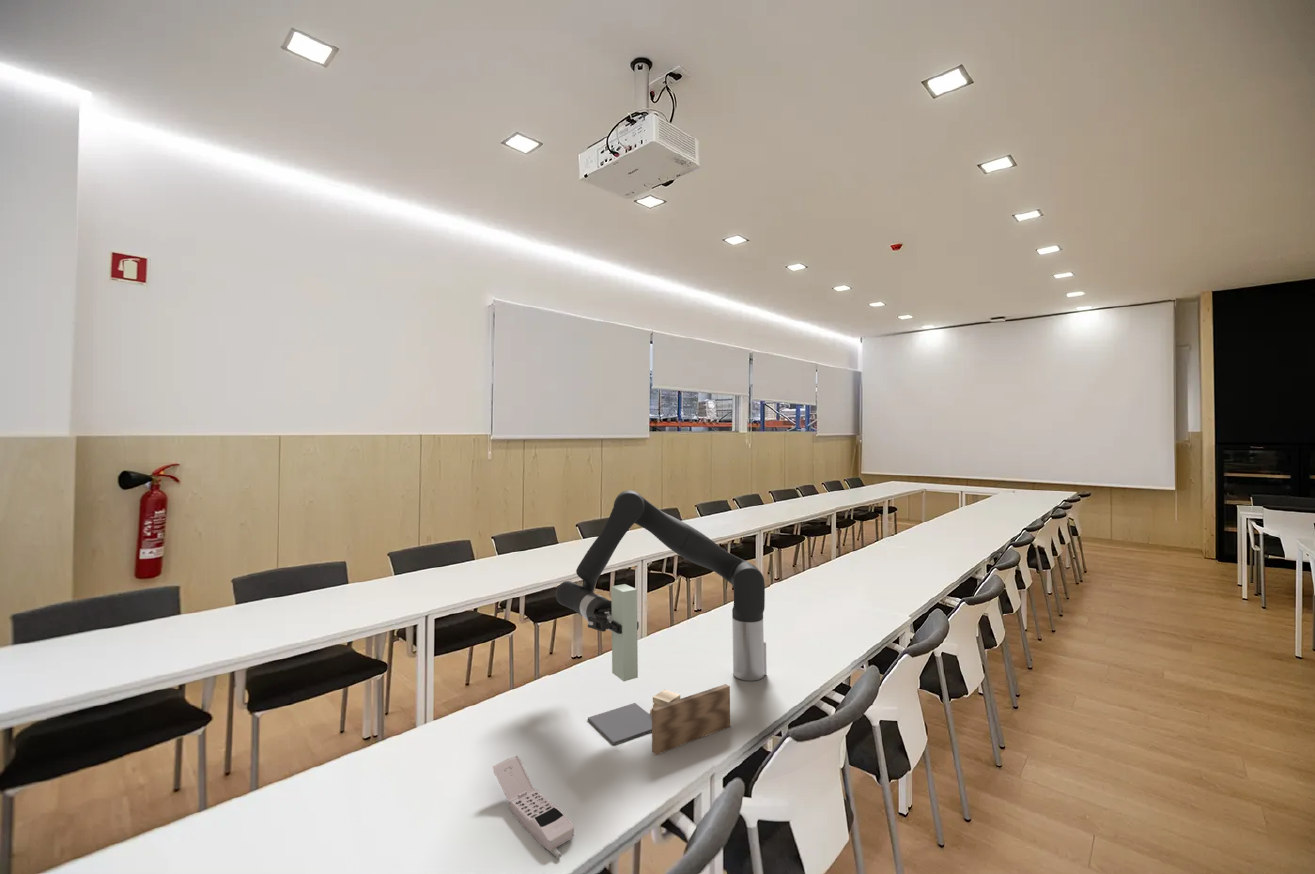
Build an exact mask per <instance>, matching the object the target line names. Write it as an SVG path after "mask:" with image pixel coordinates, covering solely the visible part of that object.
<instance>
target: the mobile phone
mask: <svg viewBox="0 0 1315 874" xmlns="http://www.w3.org/2000/svg"><path fill="white" fill-rule="evenodd" d="M523 764H524V763H523V762H522V760H521V758H520V757H519V756H518V755H515V756H512V757H510V758H507V759H505V760H503V761H500V762H498V763H496V764H495V765H493V766H492V770H493V774H494V775H495V776H496V779H497V781H498V783H499V784H500V787H501V789H502V791H503V794H504V795H505V798H506V799H507V801H508V804H509V805H508V806H509V810H510V812H511V814H513V816H514V817H515V818H516V820H518V821H519V822H520V824H521V825H522V826H523V827H524V828H525V830H527V831H528V833H530V835H531V836H532V837H534V839H535V840H536V841H537V842H538V843H539V844H540V845H541V846H542V847H544V848H545V849H546V850H547V851H549V852H550V853H551V854H552V855H553V856H554V857H555V858H556V859H560V858H561V857H562V853H561V852H560V850H559V849H558V847H560V846H561V845H563V844H565V843H567V842H568V841H570V840H572V839H573V838H574V836H575V826H574V824H573V823H572V822H571V820H570V819H569V817H567V815H565V814H564V813H563V811H562V810H561V809H560V808H558V806H555V804H554V803H553V802H551V801H550V800H549V799H548V798H546V797H545V796H544V795H543V794H541V793H540V792H539V791H538V790H537V789H536V787H533V784H532V783H531V781H530V778H529V776H528V774H527V772H526V770H525V767H524V766H523Z"/></svg>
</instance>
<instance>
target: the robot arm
mask: <svg viewBox="0 0 1315 874" xmlns="http://www.w3.org/2000/svg"><path fill="white" fill-rule="evenodd" d="M635 524H636V525H637V526H639V527H641V528H643V529H644V530H646V531H648V532H649V533H651V534H652V535H653V536H654V537H656V539H658V540H659V541H660V542H661V543H662V544H664V545H665V546H666V547H667V548H668V549H670V550H671V551H672V552H673V553H674V554H675V553H676V554H677V555H678V556H680V557H682V558H684V559H685V560H687V561H689V562H690V563H693V564H695V565H698V566H700V567H703V568H706V569H709V570H711V571H713V572H715V573H716V574H717V575H719V576H720V577H721V578H723V579H724V580H726V581H727V582H728V583H729V584H730V585H732V587H733V607H732V610H731V612H732V613H731V614H732V615H731V616H732V619H731V620H732V669H733V670H732V672H733V673H732V674H733V676H734V677H735V678H737V679H738V680H743V681H746V682H747V681H749V682H750V681H751V682H752V681H753V682H754V681H758V680H759V681H760V680H762V679H763V678H764V677H765V675H767V642H766V641H764V639H765V638H764V612H765V606H766V605H765V603H766V602H765V600H766V599H765V598H766V594H765V593H766V586H765V585H766V584H765V577H764V575H763V573H762V572H761V571H760V570H759V568H758V567H757V566H756V565H755V564H753V563H751V562H749V561H747V560H745V559H743V558H740V557H738V556H736V555H735V554H732V553H730V552H729V551H727V550H726V549H724V548H723V547H721V546H720V545H718V543H716V542H715V541H713V540H712V539H711V538H709V536H707V535H705V534H704V533H702V532H701V531H699V530H698V529H696V528H694V527H693V526H691V525H689V524H688V523H686V522H684V521H682V520H680V519H679V518H676V517H674V516H672V515H670V514H668V513H666V512H664V511H662V510H661V509H660V508H658V507H656V505H653V504H652V503H651V502H650V501H649V500H647V499H646V497H645V498H644V497H643V496H642V494H640V493H638V492H637V491H634V490H631V489H627V490H624V491H621V492H620V493H619V494H618V495H617V496H616V498H615V499H614V503H613V507H612V510H611V512H610V514H609V517H608V519H607V521H606V523H605V525H604V527H603V528H602V530H601V532H600V533H599V535H598V537H597V538H596V539H595V540H594V542H593V543H592V544H591V546H590V547H589V548H588V550H587V551H586V553H585V554H584V556H583V558H582V560H581V561H580V563H579V564H578V566H577V568H576V571H575V573H576V575H577V576H578V577H579V578H580V579H581V580H582V581H583V584H582V585H580V584H577V583H576V582H573V581H570V580H566V581H563V582H561V583H559V585H558V587H557V588H556V590H555V599H556V601H557V602H558V604H559V605H561V606H564V607H565V608H567V609H570V610H572V611H574V612H576V613H577V614H579V616H582V617H583V619H585V620H586V621H587V628H589V629H592V630H597V631H599V632H606V631H607V630H608V631H609V632H612V631H614V632H616V633H618V634H622V626H621V625H620V624H619V623H617V622H615V621H613V619H612V600H611V599H608V598H606V597H604V596H602V595H601V594H597V593H595V592H594V591H595V587H596V585H597V582H598V580H599V578H600V576H601V574H602V572H603V571H604V570H605V568H606V566H607V565H608V563H609V561H610V560H611V558H612V556H613V554H614V552H615V551H616V548H617V547H618V545H619V544H620V542H621V541H622V539H623V537H624V536H625V535H626V533H627V532H628V531H629V530H630V529H631V528H632V527H633V525H635ZM639 623H640V622H639V621H638V620H637V631H638V630H639V628H640V627H639V626H640V625H639Z"/></svg>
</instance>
